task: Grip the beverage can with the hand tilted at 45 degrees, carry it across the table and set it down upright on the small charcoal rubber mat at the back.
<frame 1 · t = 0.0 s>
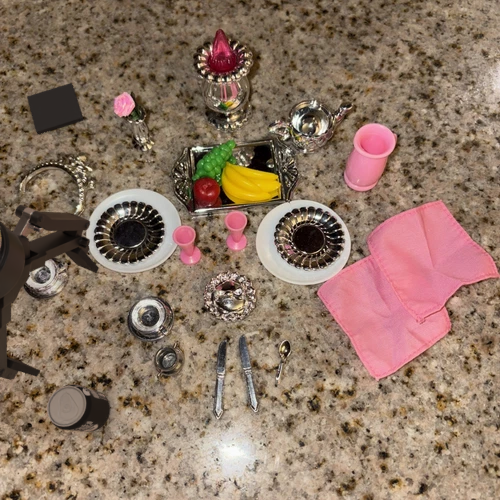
hand: (59, 315, 59), 30 cm above the granite countertop, tool pointing down, fingers open, 13 cm apart
mat: (55, 109, 107), on the granite countertop
beverage can: (92, 411, 84), on the granite countertop
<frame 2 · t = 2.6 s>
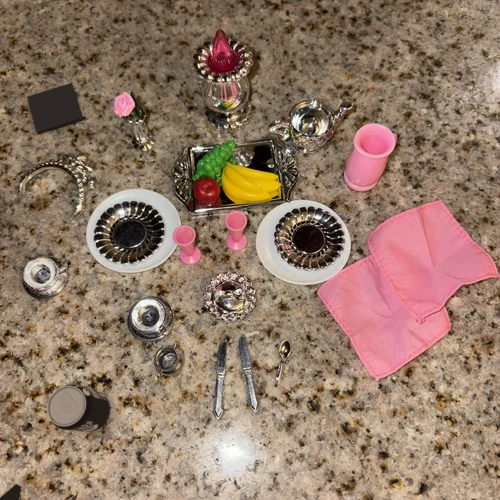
nothing on the granite countertop moved.
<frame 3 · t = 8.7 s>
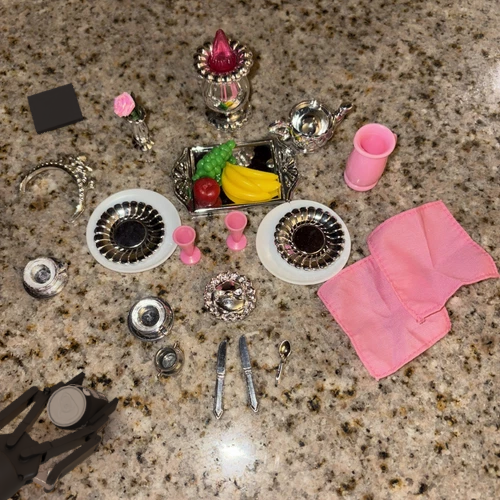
hand: (98, 390, 81), 4 cm above the granite countertop, tool tilted 45°, fingers closed on beverage can, 6 cm apart
beverage can: (92, 411, 84), on the granite countertop, touching gripper
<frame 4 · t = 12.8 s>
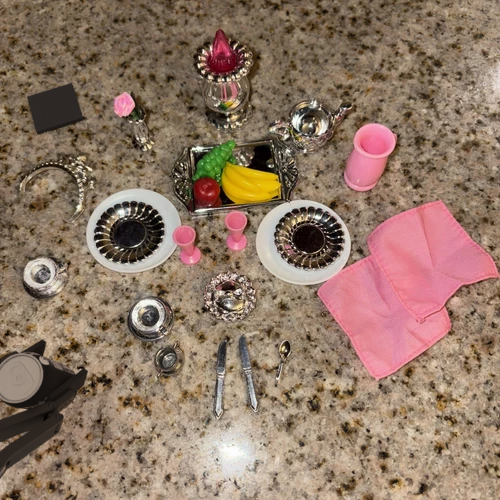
hand: (62, 362, 66), 20 cm above the granite countertop, tool tilted 45°, fingers closed on beverage can, 6 cm apart
beverage can: (57, 388, 69), point 16 cm above the granite countertop, touching gripper
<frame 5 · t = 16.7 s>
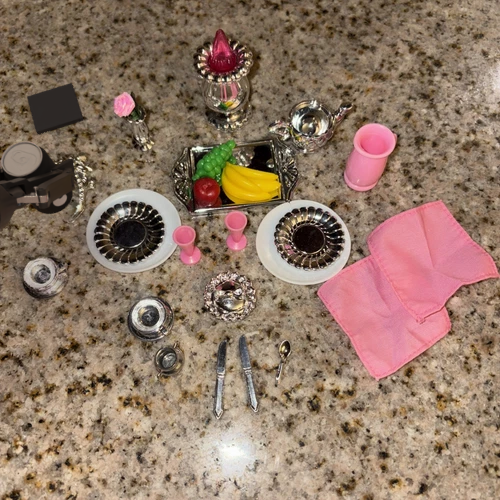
hand: (49, 166, 78), 20 cm above the granite countertop, tool tilted 45°, fingers closed on beverage can, 6 cm apart
beverage can: (54, 198, 80), point 16 cm above the granite countertop, touching gripper
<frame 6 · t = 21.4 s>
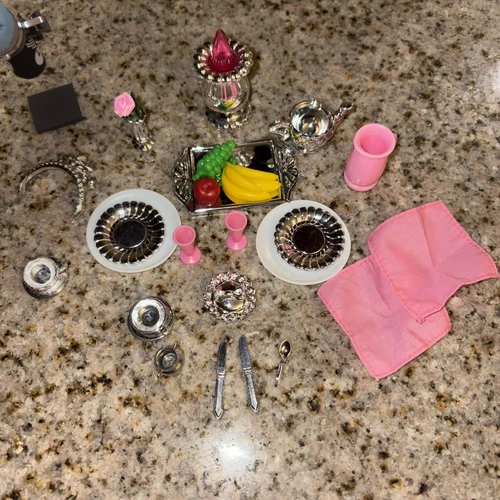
hand: (16, 40, 93), 17 cm above the granite countertop, tool tilted 45°, fingers closed on beverage can, 6 cm apart
beverage can: (31, 68, 95), point 13 cm above the granite countertop, touching gripper
when the fingers open (5 cm above the granite countertop, at t = 24.9 s): beverage can stays where it is, resting on mat.
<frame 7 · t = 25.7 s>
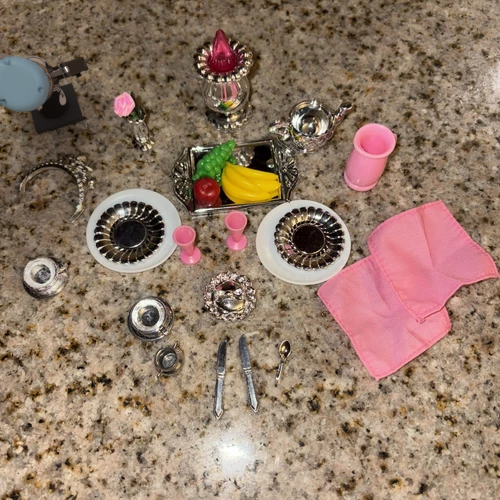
hand: (39, 81, 102), 7 cm above the granite countertop, tool tilted 45°, fingers open, 13 cm apart
beverage can: (54, 107, 106), point 1 cm above the granite countertop, touching mat
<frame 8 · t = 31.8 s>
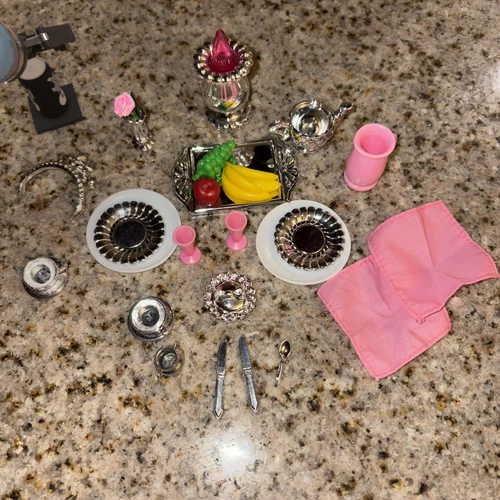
hand: (14, 57, 79), 26 cm above the granite countertop, tool tilted 45°, fingers open, 13 cm apart
nothing on the granite countertop moved.
at the end: beverage can inside the target area on the mat (0.1 cm from its centre), point 0.8 cm above the mat's base; beverage can tilted 0°; the gripper is holding nothing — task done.
